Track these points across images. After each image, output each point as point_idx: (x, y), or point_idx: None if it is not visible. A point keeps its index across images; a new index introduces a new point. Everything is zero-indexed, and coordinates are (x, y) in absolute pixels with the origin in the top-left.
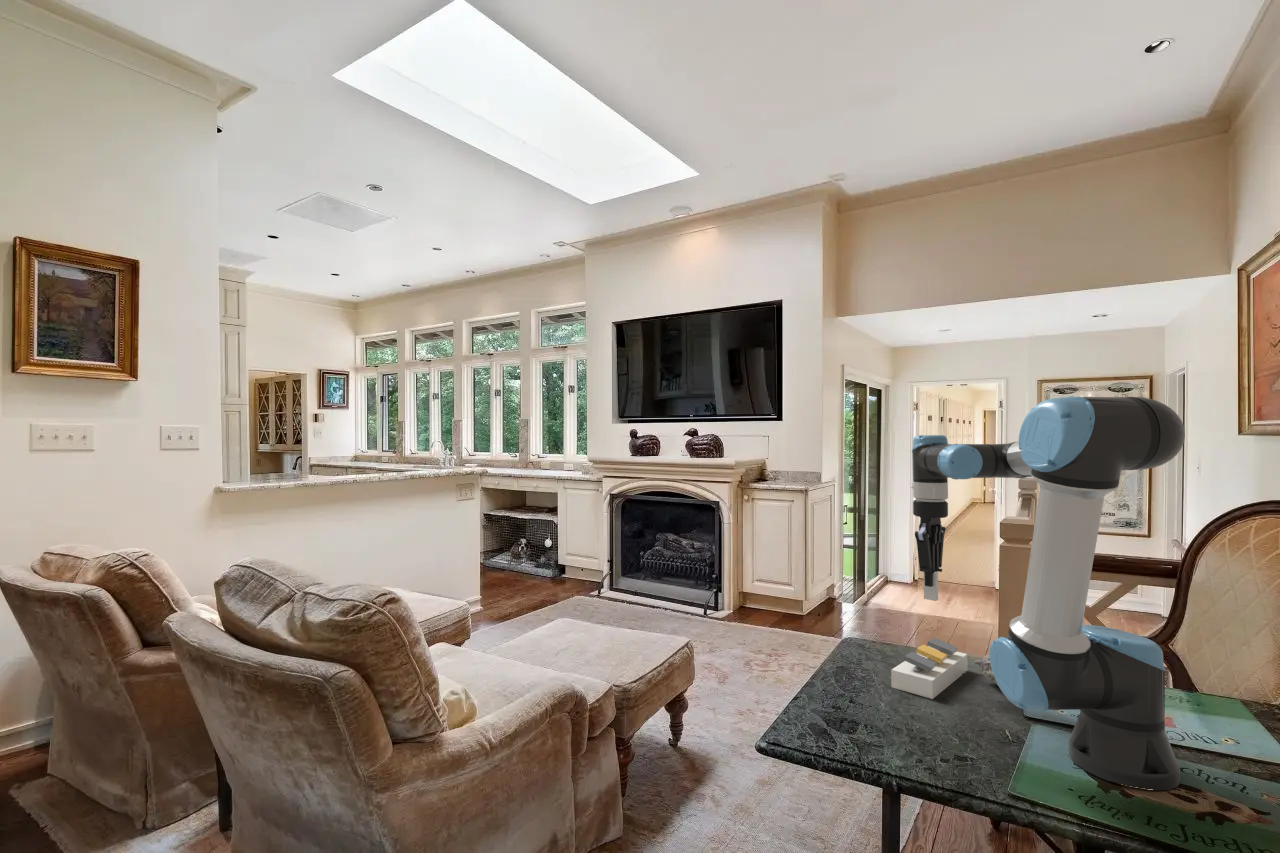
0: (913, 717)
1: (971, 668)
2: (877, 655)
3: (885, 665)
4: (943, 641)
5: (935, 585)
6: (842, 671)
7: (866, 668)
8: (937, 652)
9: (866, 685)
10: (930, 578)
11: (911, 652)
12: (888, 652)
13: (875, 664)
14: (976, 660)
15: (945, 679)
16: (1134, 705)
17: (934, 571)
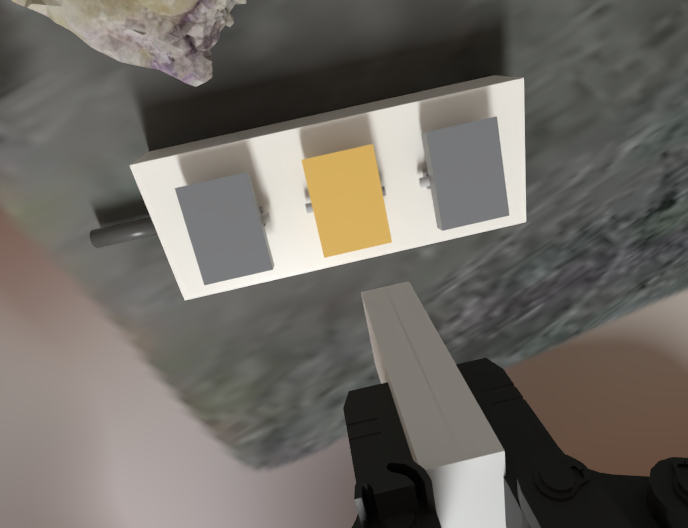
0: (665, 29)
1: (114, 155)
2: (301, 374)
3: (354, 316)
4: (193, 246)
5: (447, 353)
6: (493, 342)
7: None
8: (330, 188)
9: (537, 250)
10: (534, 418)
11: (452, 225)
12: (248, 376)
13: None
14: (199, 76)
15: (382, 103)
16: None
17: (559, 466)
